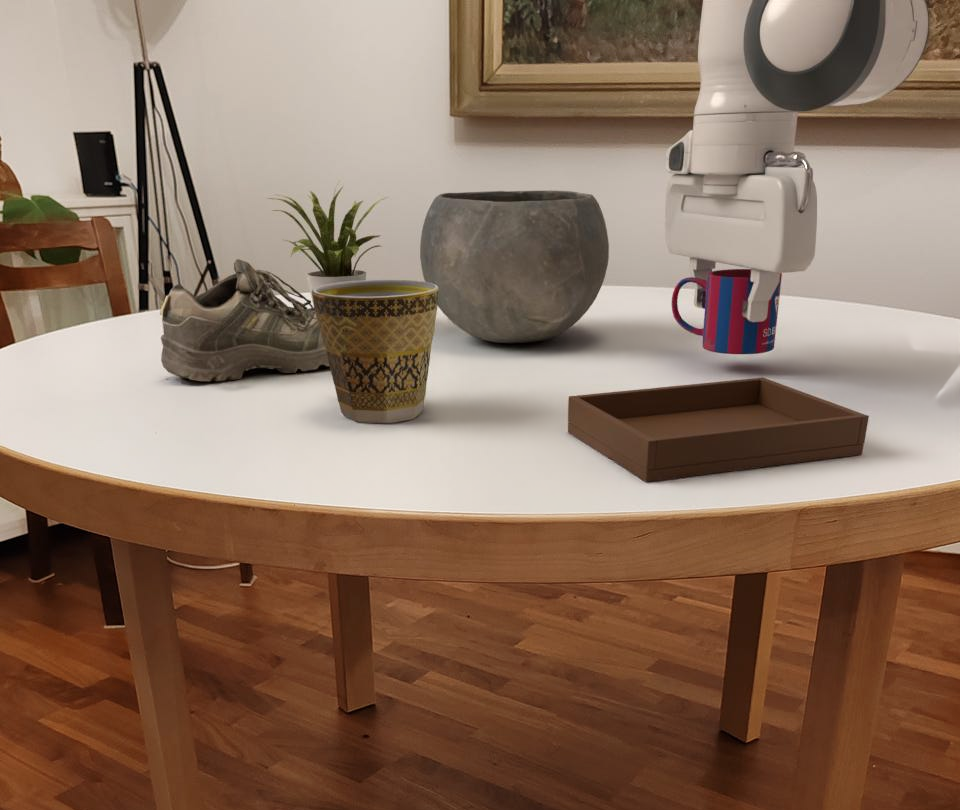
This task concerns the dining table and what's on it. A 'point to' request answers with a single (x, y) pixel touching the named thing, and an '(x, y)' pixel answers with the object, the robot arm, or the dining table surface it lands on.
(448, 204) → the bowl
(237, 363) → the hiking shoe
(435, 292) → the ceramic cup
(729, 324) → the cup
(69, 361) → the dining table surface
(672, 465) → the tray
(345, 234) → the house plant
